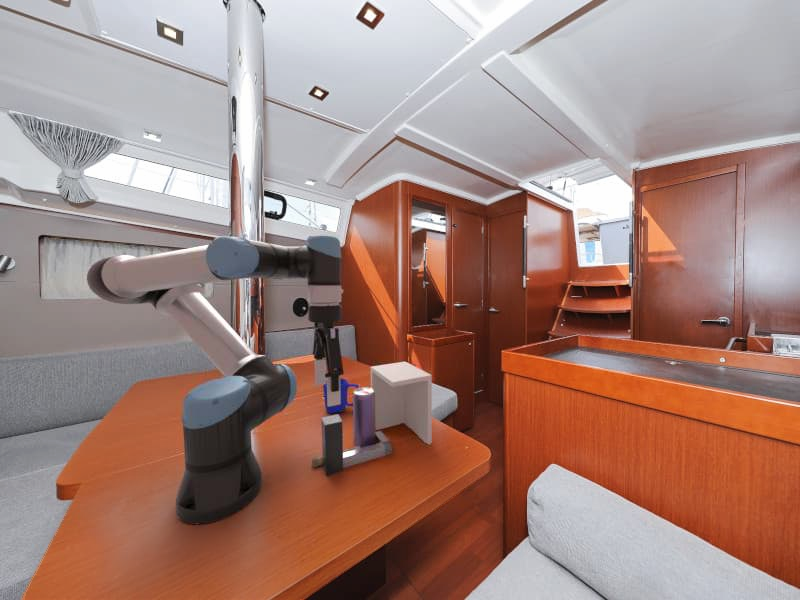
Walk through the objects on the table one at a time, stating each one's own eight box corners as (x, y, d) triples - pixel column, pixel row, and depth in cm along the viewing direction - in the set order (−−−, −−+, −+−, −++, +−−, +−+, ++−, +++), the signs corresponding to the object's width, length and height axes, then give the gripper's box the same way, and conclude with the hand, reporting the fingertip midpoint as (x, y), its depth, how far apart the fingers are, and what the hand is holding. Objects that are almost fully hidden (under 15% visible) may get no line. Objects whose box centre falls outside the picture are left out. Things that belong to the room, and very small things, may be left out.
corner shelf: (393, 456, 72) (392, 382, 71) (371, 429, 86) (370, 366, 84) (431, 443, 78) (431, 375, 76) (405, 420, 91) (405, 361, 90)
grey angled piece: (326, 475, 65) (324, 425, 64) (319, 455, 73) (318, 410, 72) (393, 455, 72) (393, 410, 72) (381, 439, 80) (380, 397, 79)
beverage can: (364, 453, 73) (364, 397, 72) (349, 445, 77) (348, 391, 76) (380, 443, 78) (379, 390, 77) (364, 436, 82) (363, 385, 81)
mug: (356, 415, 94) (356, 386, 94) (320, 415, 95) (319, 386, 94) (360, 405, 103) (360, 378, 102) (327, 405, 103) (326, 378, 102)
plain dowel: (313, 469, 68) (313, 460, 68) (312, 465, 69) (311, 457, 70) (361, 455, 73) (361, 447, 73) (359, 452, 75) (359, 444, 75)
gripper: (358, 307, 56) (359, 411, 58) (328, 300, 78) (330, 375, 80) (319, 309, 53) (321, 420, 54) (300, 301, 75) (302, 380, 76)
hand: (326, 394), depth 67 cm, fingers open, 13 cm apart
